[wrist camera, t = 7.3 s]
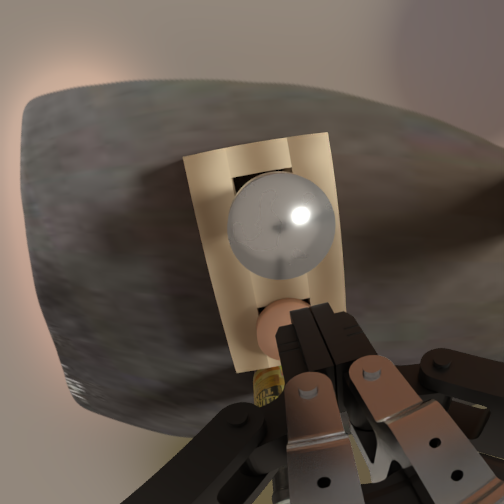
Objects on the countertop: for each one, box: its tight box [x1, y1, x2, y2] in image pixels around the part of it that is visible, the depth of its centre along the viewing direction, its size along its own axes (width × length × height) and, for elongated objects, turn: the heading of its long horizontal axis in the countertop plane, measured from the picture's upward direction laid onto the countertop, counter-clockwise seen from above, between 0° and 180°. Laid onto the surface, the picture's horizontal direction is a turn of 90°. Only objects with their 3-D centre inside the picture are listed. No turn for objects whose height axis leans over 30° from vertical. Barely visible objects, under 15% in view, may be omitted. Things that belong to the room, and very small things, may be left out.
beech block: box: [183, 132, 346, 373], centre depth 30 cm, size 12×22×6 cm, turn 10°
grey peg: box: [227, 171, 336, 280], centre depth 20 cm, size 6×6×8 cm
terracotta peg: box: [256, 298, 310, 361], centre depth 31 cm, size 6×6×8 cm
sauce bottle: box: [253, 366, 290, 504], centre depth 29 cm, size 6×6×20 cm
